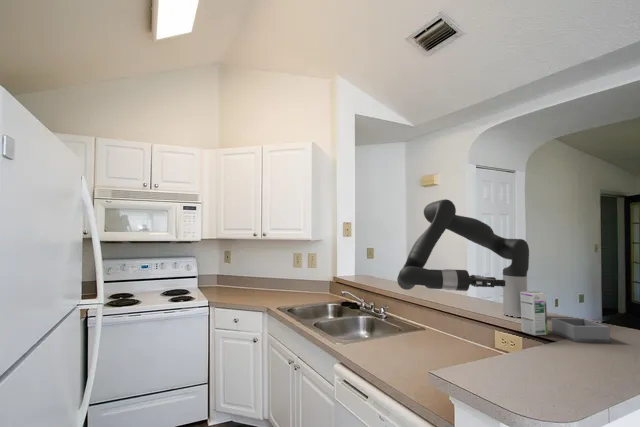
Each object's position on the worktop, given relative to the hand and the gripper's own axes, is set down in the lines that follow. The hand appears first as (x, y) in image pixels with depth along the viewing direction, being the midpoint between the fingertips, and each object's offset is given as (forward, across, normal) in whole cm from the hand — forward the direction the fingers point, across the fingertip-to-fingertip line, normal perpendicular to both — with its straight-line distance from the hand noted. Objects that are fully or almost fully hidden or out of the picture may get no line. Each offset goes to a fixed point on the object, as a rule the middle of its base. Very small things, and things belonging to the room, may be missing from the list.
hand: (500, 281), depth 127 cm
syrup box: (+12, 0, +18) cm, 21 cm away
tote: (+25, -3, +17) cm, 30 cm away
